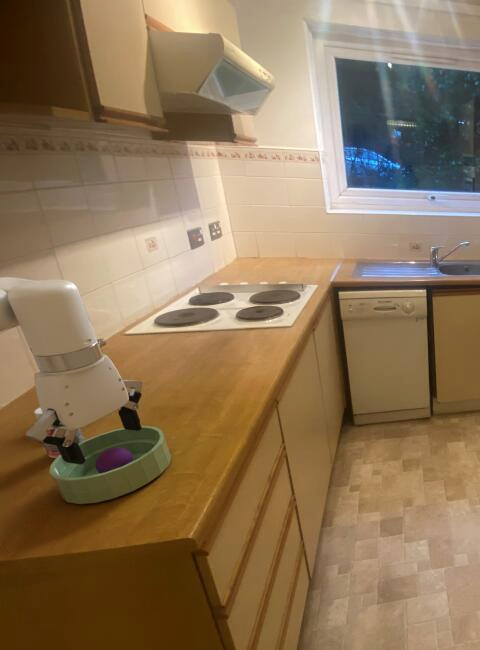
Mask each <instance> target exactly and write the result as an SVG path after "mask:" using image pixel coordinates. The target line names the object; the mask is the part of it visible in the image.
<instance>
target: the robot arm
mask: <svg viewBox="0 0 480 650" xmlns="http://www.w3.org/2000/svg"><path fill="white" fill-rule="evenodd" d="M16 327H20V329H21V331H22V334H23V336H24V339H25V341H26V343H27V345H28V347H29V350H30V352H31V354H32V356H33V359H34V360H35V363H36V365H37V367H38V369H39V372H36V373H34V388H35V393H36V397H37V401H38V404H39V408H41V410H42V413H43V416H42V417H41V418H40V419H39V420H38V419H37V421H36V422H34V424H32V426H31V427H30V428H29V429H28V430H27V431H26V432H25V435H26V437H28V438H30V439H32V440H34V441H35V442H38V443H39V444H42V445H43V444H50V445H56V446H57V448H58V450H59V452H60V454H61V457H62V459H63V460H64V461H65V462H68V463H73V464H80V465H81V464H83V463H85V461H86V460H85V458H84V456H83V453H82V451H81V449H80V446H79V444H78V443H76V442H73V440H74V438H75V435H76V433H77V431H78V429H80V430H81V429H83V428H85V427H87V426H88V425H90V424H93V423H94V422H97V421H99V420H100V419H103V418H104V417H106V416H108V415H110V414H112V413H113V412H115V411H117V410H118V416H119V418H120V421H121V424H122V426H123V428H124V429H127V430H134V431H139V430H141V429H142V427H141V426H142V424H141V419H140V417H139V413H138V411H137V410H138V409H139V407H140V404H139V402H140V400H141V398H142V388H143V381H142V380H137V379H123V378H122V376H121V374H120V373H119V370H118V369H117V367H116V366H115V364H114V363H113V361H112V360H111V359H110V357H109V356H108V355H107V354H104V353H103V350H102V348H103V347H105V346H106V345H107V342H106V340H105V339H104V338H97V335H96V332H95V331H94V327H93V325H92V322H91V320H90V317H89V314H88V311H87V309H86V307H85V303H84V301H83V299H82V296H81V293H80V291H79V289H78V287H77V286H76V284H75V283H73V282H72V281H70V280H67V279H60V278H59V279H58V278H54V279H52V278H51V279H39V280H35V279H27V278H21V277H12V276H3V277H2V276H1V277H0V333H1V332H4V331H7V330H10V329H13V328H16ZM127 388H128V389H129V392H128V390H127ZM49 427H50V428H55V431H54V433H53V435H52V436H50V435H49V434H47V433H46V430H47V429H48V428H49ZM65 431H66V433H65ZM64 434H65V435H64ZM63 436H64V437H63Z"/></svg>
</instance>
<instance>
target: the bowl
mask: <svg viewBox="0 0 480 650" xmlns="http://www.w3.org/2000/svg"><path fill="white" fill-rule="evenodd" d="M141 427H142V429H141V430H139V431H134V430H127V429H124V427H121V428H117V429H113V430H110V431H106V432H103V433H99V434H97V435H95V436H92V437H90V438H87V439H85V441H82V442H80V443H79V446H80V449H81V451H82V453H83V456H84V458H85V460H86V461H85V463H83V464H81V465H80V464H73V463H68V462H65V461H64V460H63V459H62V457H61V455H60V456H58V457H57V458H54V461H53V462H52V463H51V464H50V466H49V475H50V477H51V479H52V481H53V484H54V486H55V487H56V489H57V492H58V493H59V495H60V497H61V499H62V500H64V501H65V502H67V503H69V504H70V503H71V504H74V505H75V504H77V505H85V504H96V503H100V502H105V501H108V500H113V499H116V498H119V497H122V496H124V495H126V494H129V493H132V492H134V491H136V490H137V489H139V488H141V487H143V486H145V485H148V484H149V483H151V482H152V481H153V480H154V479H156V478H157V477H159V476H160V475H162V474H163V472H164V471H165V470H166V469H167V468H168V467H169V466H170V463H171V461H172V458H173V457H172V454H171V451H170V449H169V446H168V443H167V440H166V437H165V435H164V432H163V430H162V429H160V428H159V427H156V426H151V425H150V426H149V425H141ZM111 448H124V449H127V450H128V451H129V452H130V453H131V454H132V456H133V462H130V463H128V464H126V465H124V466H122V467H119V468H117V469H114V470H111V471H108V472H105V473H101V474H100V473H99V472H98V471H97V470H96V467H95V463H96V460H97V458H98V456H99V455H100V454H101V453H103V452H104V451H106V450H108V449H111Z"/></svg>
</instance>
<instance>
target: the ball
mask: <svg viewBox="0 0 480 650" xmlns="http://www.w3.org/2000/svg"><path fill="white" fill-rule="evenodd" d="M130 462H133V456H132V454H131V453H130V452H129V451H128V450H127V449H124V448H111V449H108V450H106V451H104V452H103V453H101V454H100V455H99V456H98V458H97V460H96V463H95V467H96V470H97V471H98V472H99V473H100V474H101V473H105V472H108V471H111V470H114V469H117V468H119V467H122V466H124V465H126V464H128V463H130Z"/></svg>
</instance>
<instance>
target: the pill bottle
mask: <svg viewBox="0 0 480 650" xmlns="http://www.w3.org/2000/svg"><path fill="white" fill-rule="evenodd" d="M33 413H34V416H35V418H36V420H37V421H38V420H39V419H40V418H41V417H42V416H43V413H42V410H41V408H40V407H38V408H36V409H35V410H34V412H33ZM54 431H55V428H50V427H49V428H48V429H47V430H46V433H47V434H49V435H50V436H52V435H53V433H54ZM65 433H66V431H65ZM64 435H65V434H64ZM63 437H64V436H63ZM85 440H86V439H85V437H84V435H83V431H82V430H81V428H80V429H78V431H77V433H76V435H75V438H74V440H73V442H76V443H78V444H79V443H80V442H82V441H85ZM42 445H43V447H44V449H45V451H46V453H47V455H48V457H50V459H51V458H52V459H56V458H57V457H58V456H60V455H61V454H60V452H59V450H58V448H57V446H56V445H50V444H43V443H42Z"/></svg>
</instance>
